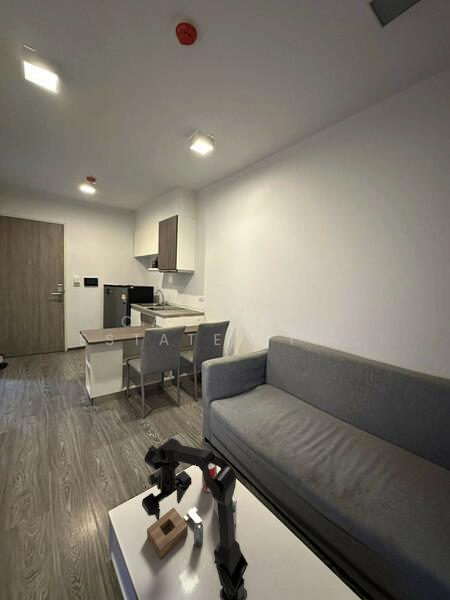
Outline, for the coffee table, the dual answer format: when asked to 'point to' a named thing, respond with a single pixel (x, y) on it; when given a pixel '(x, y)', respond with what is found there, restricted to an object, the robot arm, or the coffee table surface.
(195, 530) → the cylinder
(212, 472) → the soda can
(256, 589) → the coffee table surface
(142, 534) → the coffee table surface
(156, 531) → the bore block
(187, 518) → the grey t-shaped block
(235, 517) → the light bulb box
